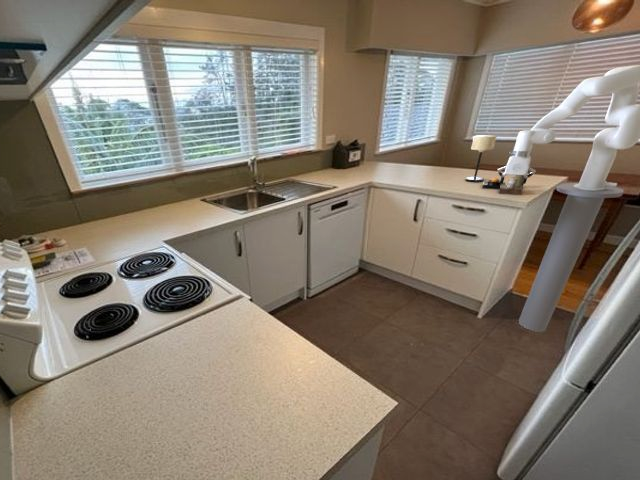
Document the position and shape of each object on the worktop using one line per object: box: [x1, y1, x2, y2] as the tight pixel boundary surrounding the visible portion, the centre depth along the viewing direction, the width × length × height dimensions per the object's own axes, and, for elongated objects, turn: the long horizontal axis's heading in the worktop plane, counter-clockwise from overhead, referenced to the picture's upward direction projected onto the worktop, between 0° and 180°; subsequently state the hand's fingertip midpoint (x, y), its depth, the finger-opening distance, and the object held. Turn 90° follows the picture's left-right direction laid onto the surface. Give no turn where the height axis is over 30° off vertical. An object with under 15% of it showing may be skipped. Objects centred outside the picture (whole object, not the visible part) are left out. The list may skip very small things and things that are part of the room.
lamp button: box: [491, 177, 500, 182], centre depth 186 cm, size 4×4×2 cm
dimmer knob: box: [506, 176, 518, 188], centre depth 173 cm, size 4×4×6 cm
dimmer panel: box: [498, 184, 523, 196], centre depth 175 cm, size 10×9×3 cm
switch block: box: [482, 179, 506, 190], centre depth 187 cm, size 11×9×4 cm
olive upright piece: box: [514, 175, 524, 189], centre depth 181 cm, size 6×6×11 cm
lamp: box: [465, 134, 498, 183], centre depth 199 cm, size 12×12×29 cm
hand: (512, 184), depth 174 cm, fingers open, 9 cm apart
